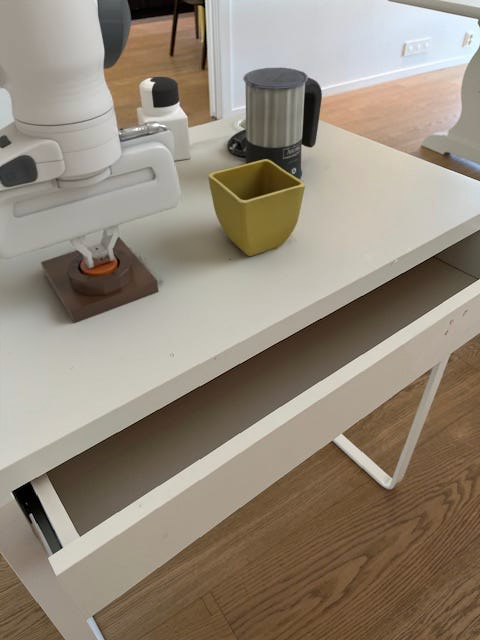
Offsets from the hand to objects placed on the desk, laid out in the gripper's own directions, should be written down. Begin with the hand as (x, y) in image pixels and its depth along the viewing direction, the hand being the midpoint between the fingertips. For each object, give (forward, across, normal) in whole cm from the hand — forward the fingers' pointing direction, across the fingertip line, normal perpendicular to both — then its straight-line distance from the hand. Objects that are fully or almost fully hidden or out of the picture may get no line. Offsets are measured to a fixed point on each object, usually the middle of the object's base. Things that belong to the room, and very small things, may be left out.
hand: (99, 262), depth 57 cm
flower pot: (+4, -20, +1) cm, 20 cm away
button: (+2, 0, 0) cm, 2 cm away
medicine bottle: (+4, -23, -31) cm, 38 cm away
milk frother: (+4, -34, -18) cm, 38 cm away
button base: (+4, 0, -2) cm, 4 cm away
